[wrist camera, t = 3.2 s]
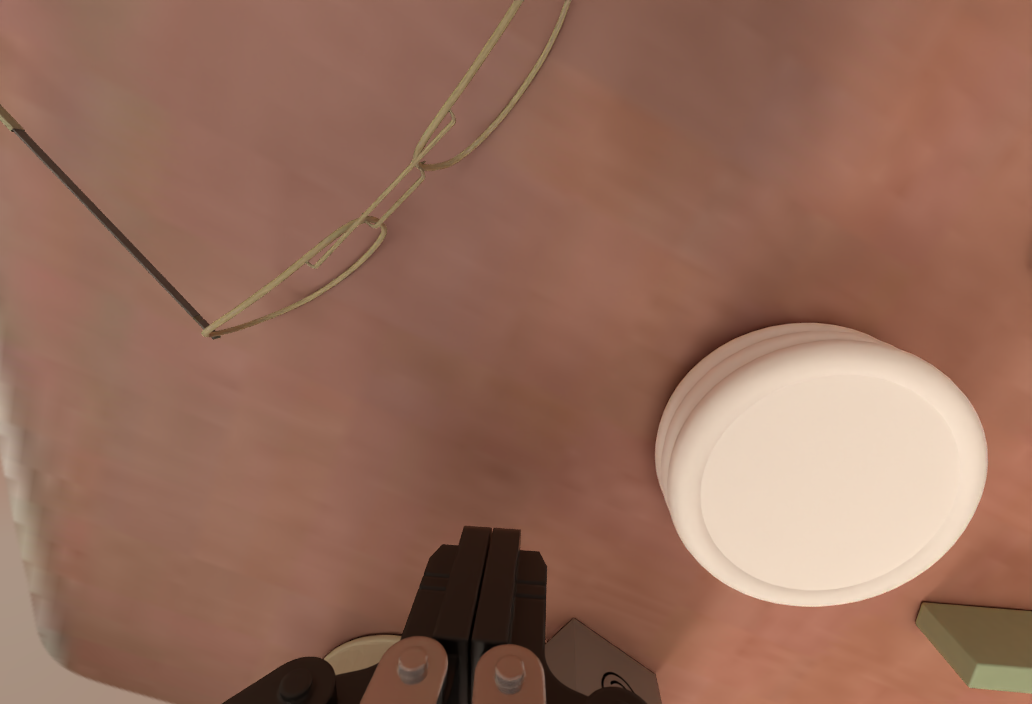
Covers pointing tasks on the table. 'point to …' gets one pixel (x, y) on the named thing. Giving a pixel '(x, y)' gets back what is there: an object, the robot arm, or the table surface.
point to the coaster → (818, 464)
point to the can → (360, 653)
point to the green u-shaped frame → (982, 644)
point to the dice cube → (596, 664)
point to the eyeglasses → (346, 229)
